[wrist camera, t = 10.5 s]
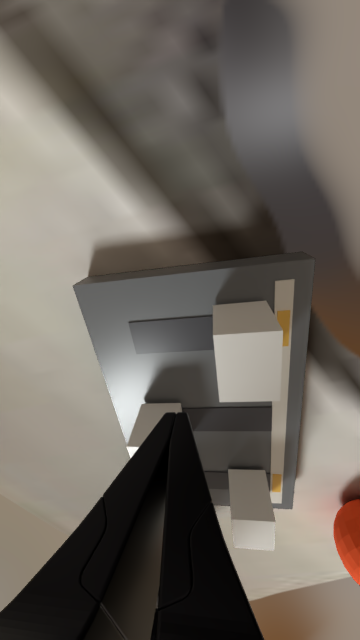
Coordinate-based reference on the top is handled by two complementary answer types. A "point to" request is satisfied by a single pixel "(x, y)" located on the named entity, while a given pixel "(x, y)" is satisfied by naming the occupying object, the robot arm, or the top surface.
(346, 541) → the red tomato
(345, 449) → the top surface
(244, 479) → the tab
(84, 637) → the robot arm
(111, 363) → the switch bank
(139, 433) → the tab middle
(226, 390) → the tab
